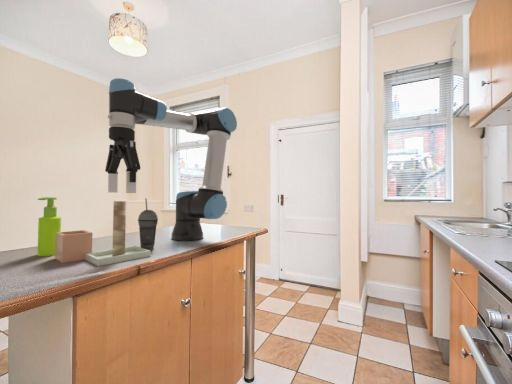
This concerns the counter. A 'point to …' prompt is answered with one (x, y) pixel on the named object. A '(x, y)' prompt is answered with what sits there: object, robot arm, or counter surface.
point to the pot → (72, 245)
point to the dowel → (119, 228)
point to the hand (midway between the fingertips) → (121, 192)
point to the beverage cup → (147, 228)
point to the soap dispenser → (48, 228)
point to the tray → (107, 258)
